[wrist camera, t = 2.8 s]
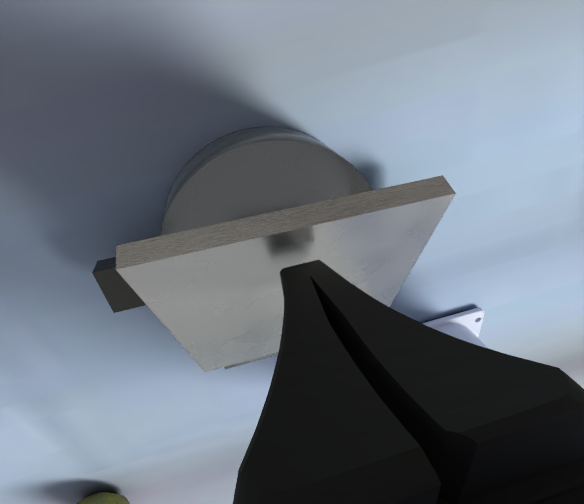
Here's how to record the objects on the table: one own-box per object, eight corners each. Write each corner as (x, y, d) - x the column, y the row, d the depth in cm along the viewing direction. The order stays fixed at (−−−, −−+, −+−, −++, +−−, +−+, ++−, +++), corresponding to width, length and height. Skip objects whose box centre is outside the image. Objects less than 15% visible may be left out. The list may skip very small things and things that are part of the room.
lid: (371, 316, 20) (382, 341, 20) (206, 361, 19) (210, 390, 18) (442, 175, 11) (470, 213, 10) (115, 245, 9) (115, 296, 8)
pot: (395, 285, 24) (420, 314, 21) (156, 348, 22) (151, 388, 19) (407, 100, 17) (444, 109, 15) (66, 160, 15) (39, 183, 12)
